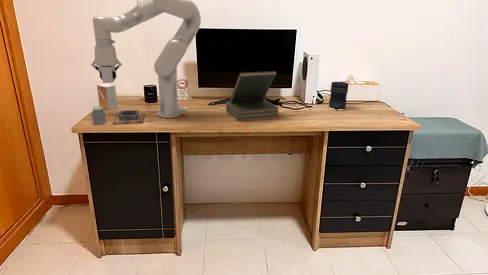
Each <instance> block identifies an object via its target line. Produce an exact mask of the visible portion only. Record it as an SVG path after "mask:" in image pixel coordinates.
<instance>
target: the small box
mask: <svg viewBox="0 0 488 275" xmlns="http://www.w3.org/2000/svg"><path fill="white" fill-rule="evenodd" d="M96 88H97V96H98V105H99V106H101V107H102V108H103V109H104V110H107V111H108V110H109V111H111V110H113V109H118V98H117V91H116V90H117V88H116V85H115V84H113V83H101V84H97V85H96Z"/></svg>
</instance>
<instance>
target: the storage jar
mask: <svg viewBox="0 0 488 275" xmlns="http://www.w3.org/2000/svg"><path fill="white" fill-rule="evenodd" d="M348 91H349V83H348V82H345V81H344V82H343V81H332V82H331V85H330V96H329V97H330V98H329V101H328V108H329V107H331V108H334V109H344V108H345V109H346V107H347V106H346V105H347V96H348V93H349V92H348Z"/></svg>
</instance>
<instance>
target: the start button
mask: <svg viewBox="0 0 488 275" xmlns="http://www.w3.org/2000/svg"><path fill="white" fill-rule="evenodd" d="M102 109H104V108H102V107H101V106H97V105H96V106H93V107H92V111H93V110H94V111H95V112H101V110H102Z"/></svg>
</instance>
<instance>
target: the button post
mask: <svg viewBox="0 0 488 275" xmlns="http://www.w3.org/2000/svg"><path fill="white" fill-rule="evenodd" d="M91 118H92V124H93V125H104V124H105V123H106V121H107V119H106V112H105V109H104V108H103V109H102V110H101V112H95V111H94V110H93V109H92V111H91Z"/></svg>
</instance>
